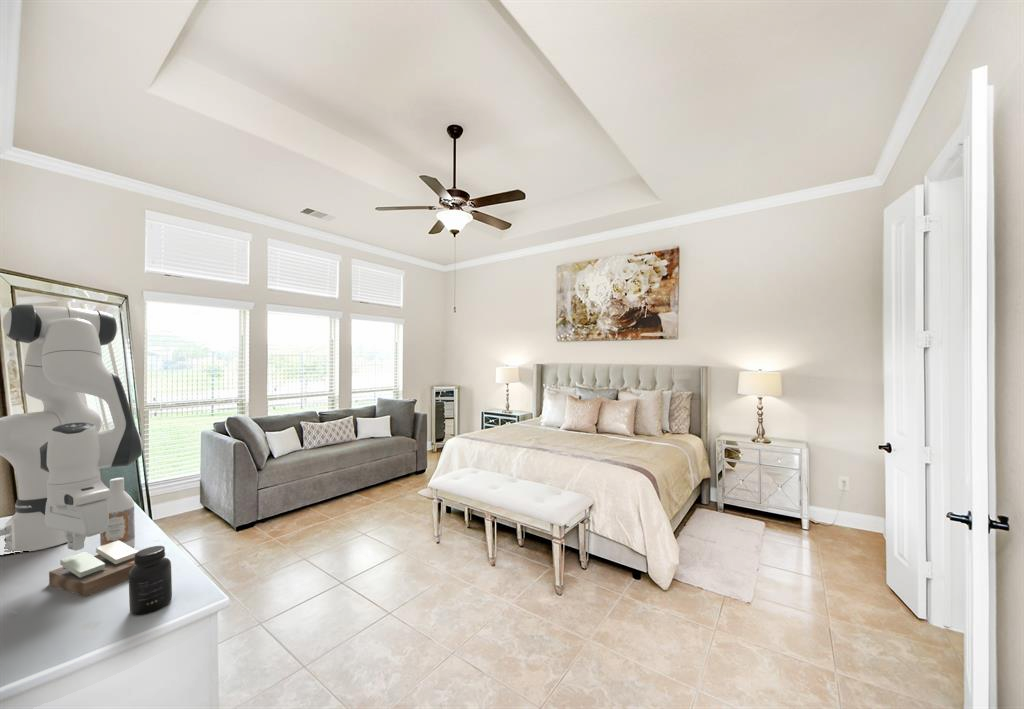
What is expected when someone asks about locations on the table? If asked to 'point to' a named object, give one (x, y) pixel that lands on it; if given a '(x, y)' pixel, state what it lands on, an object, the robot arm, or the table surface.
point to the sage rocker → (82, 564)
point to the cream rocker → (116, 552)
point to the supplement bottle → (150, 581)
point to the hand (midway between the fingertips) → (76, 548)
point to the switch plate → (92, 577)
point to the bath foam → (119, 516)
